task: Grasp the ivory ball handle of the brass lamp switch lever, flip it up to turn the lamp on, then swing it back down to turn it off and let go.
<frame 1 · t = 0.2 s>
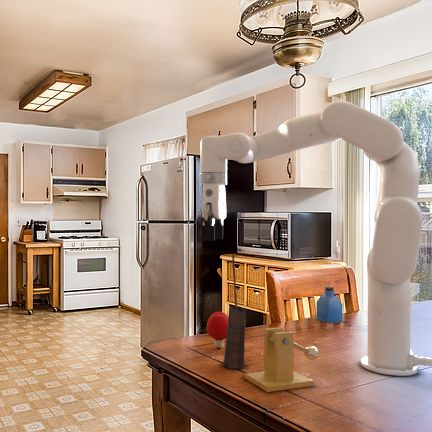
hand: (213, 239, 135), 31 cm above the table, tool pointing down, fingers open, 9 cm apart
butter churn: (237, 367, 118), on the table
red rounded lump: (218, 349, 134), on the table
perfume bottle: (329, 320, 170), on the table
switch lever: (295, 345, 109), point 8 cm above the table, hinge at -25.0°
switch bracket: (278, 382, 107), on the table
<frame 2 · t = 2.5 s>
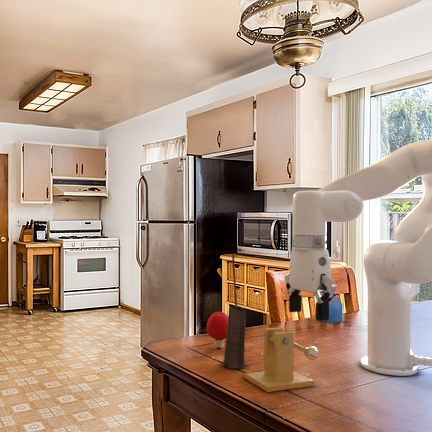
hand: (308, 315, 111), 14 cm above the table, tool pointing down, fingers open, 9 cm apart
nothing on the table moved.
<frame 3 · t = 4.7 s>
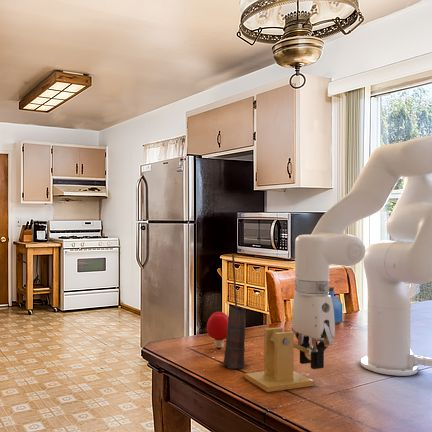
hand: (311, 364, 110), 3 cm above the table, tool pointing down, fingers closed on switch lever, 3 cm apart
switch lever: (295, 345, 109), point 8 cm above the table, hinge at -25.0°, touching gripper
everything else where it was.
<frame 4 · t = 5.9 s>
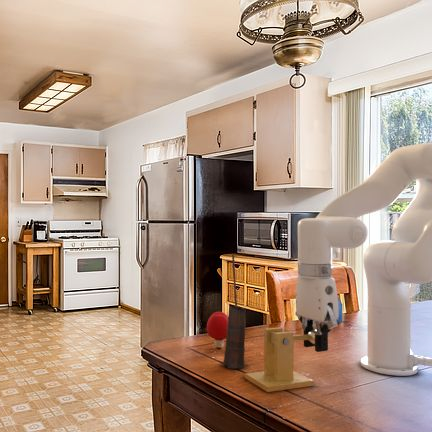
hand: (315, 347, 111), 7 cm above the table, tool pointing down, fingers closed on switch lever, 3 cm apart
switch lever: (297, 337, 109), point 10 cm above the table, hinge at -2.9°, touching gripper
everything else where it was.
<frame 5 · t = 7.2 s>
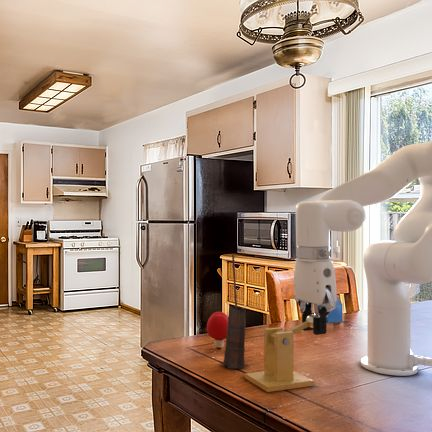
hand: (314, 331, 111), 11 cm above the table, tool pointing down, fingers closed on switch lever, 3 cm apart
switch lever: (296, 329, 109), point 12 cm above the table, hinge at 19.0°, touching gripper
everything else where it was.
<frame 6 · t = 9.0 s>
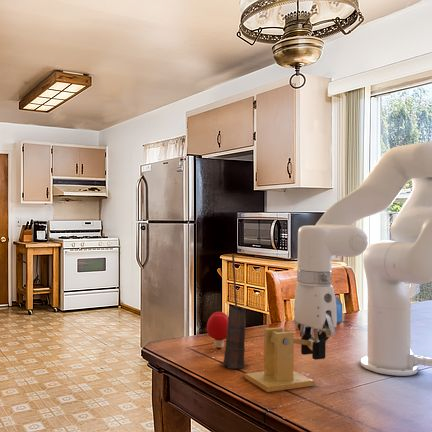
hand: (313, 355, 111), 5 cm above the table, tool pointing down, fingers closed on switch lever, 3 cm apart
switch lever: (297, 341, 109), point 9 cm above the table, hinge at -12.3°, touching gripper
everything else where it was.
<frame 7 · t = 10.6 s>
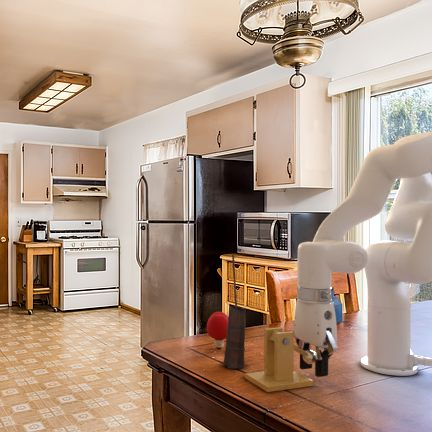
hand: (313, 371, 111), 1 cm above the table, tool pointing down, fingers open, 4 cm apart
switch lever: (294, 347, 109), point 7 cm above the table, hinge at -30.7°
everything else where it was.
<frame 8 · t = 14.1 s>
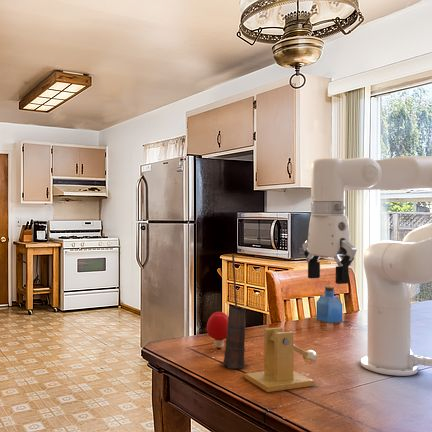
hand: (327, 280, 114), 22 cm above the table, tool pointing down, fingers open, 9 cm apart
nothing on the table moved.
at the end: switch lever reached +19° during the clip, -31° at the end; switch lever at -31° (first picture: -25°) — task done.
